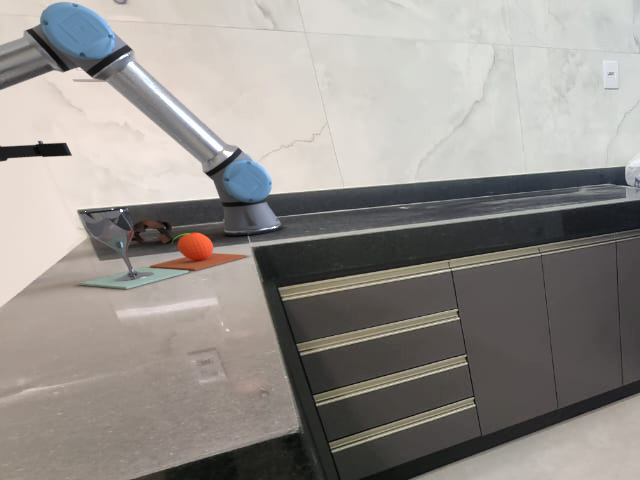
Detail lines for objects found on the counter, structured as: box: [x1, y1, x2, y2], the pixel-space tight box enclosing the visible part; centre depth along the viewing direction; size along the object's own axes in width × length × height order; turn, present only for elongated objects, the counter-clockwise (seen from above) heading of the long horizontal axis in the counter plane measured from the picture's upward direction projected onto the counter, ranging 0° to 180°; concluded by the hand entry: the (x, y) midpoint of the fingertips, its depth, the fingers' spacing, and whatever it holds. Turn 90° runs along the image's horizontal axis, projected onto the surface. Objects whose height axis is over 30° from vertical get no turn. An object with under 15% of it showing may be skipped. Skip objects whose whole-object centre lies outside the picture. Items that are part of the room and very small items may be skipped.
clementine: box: [171, 231, 214, 260], centre depth 133 cm, size 8×7×7 cm
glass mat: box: [79, 266, 189, 290], centre depth 122 cm, size 13×16×1 cm
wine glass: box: [78, 206, 154, 281], centre depth 119 cm, size 8×8×15 cm
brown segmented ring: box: [130, 217, 174, 244], centre depth 160 cm, size 12×10×8 cm
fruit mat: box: [149, 252, 247, 272], centre depth 135 cm, size 13×16×1 cm
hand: (33, 151), depth 111 cm, fingers open, 13 cm apart
